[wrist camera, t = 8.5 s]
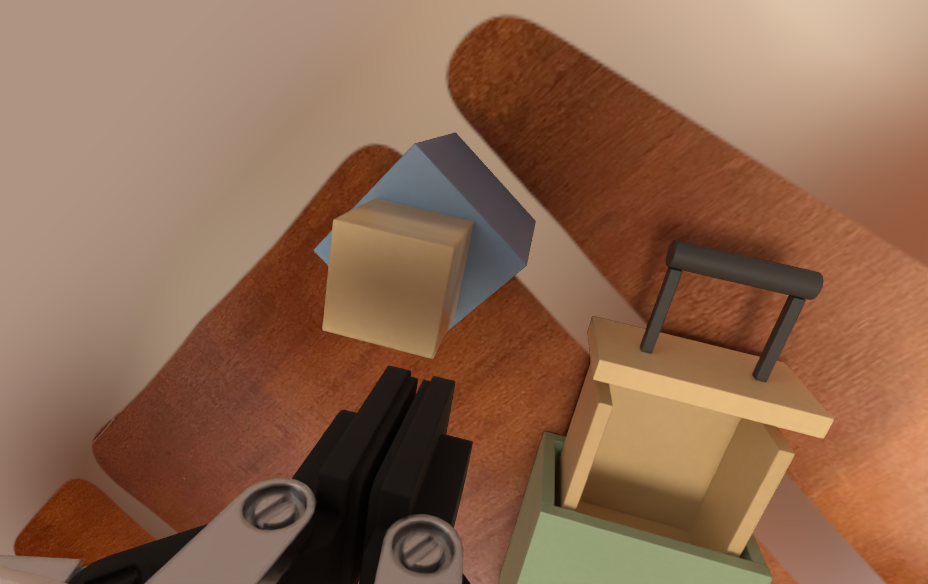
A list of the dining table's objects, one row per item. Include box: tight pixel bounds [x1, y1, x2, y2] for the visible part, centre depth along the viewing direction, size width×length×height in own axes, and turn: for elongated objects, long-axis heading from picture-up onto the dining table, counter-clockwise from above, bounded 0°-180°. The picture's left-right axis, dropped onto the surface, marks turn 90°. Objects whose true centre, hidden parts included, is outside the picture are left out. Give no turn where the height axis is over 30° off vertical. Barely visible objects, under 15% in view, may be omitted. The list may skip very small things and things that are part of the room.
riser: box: [314, 133, 536, 331], centre depth 27 cm, size 7×7×9 cm
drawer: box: [554, 240, 834, 558], centre depth 29 cm, size 20×11×6 cm, turn 169°
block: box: [323, 198, 474, 359], centre depth 21 cm, size 4×4×4 cm
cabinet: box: [498, 431, 773, 584], centre depth 34 cm, size 15×13×8 cm
